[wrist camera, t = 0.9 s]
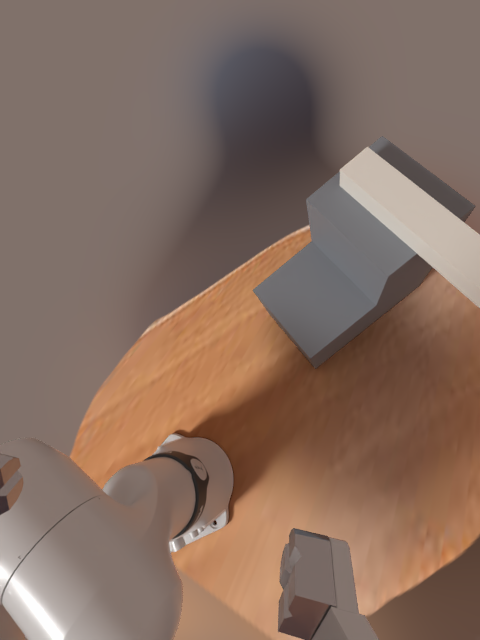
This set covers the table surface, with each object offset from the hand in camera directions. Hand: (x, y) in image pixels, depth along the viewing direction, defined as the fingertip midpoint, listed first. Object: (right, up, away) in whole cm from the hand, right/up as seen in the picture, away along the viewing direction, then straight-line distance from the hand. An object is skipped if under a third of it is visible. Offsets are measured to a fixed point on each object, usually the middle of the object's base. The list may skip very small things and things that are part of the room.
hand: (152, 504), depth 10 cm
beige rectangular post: (+22, +15, +28) cm, 39 cm away
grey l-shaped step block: (+22, +9, +55) cm, 59 cm away
